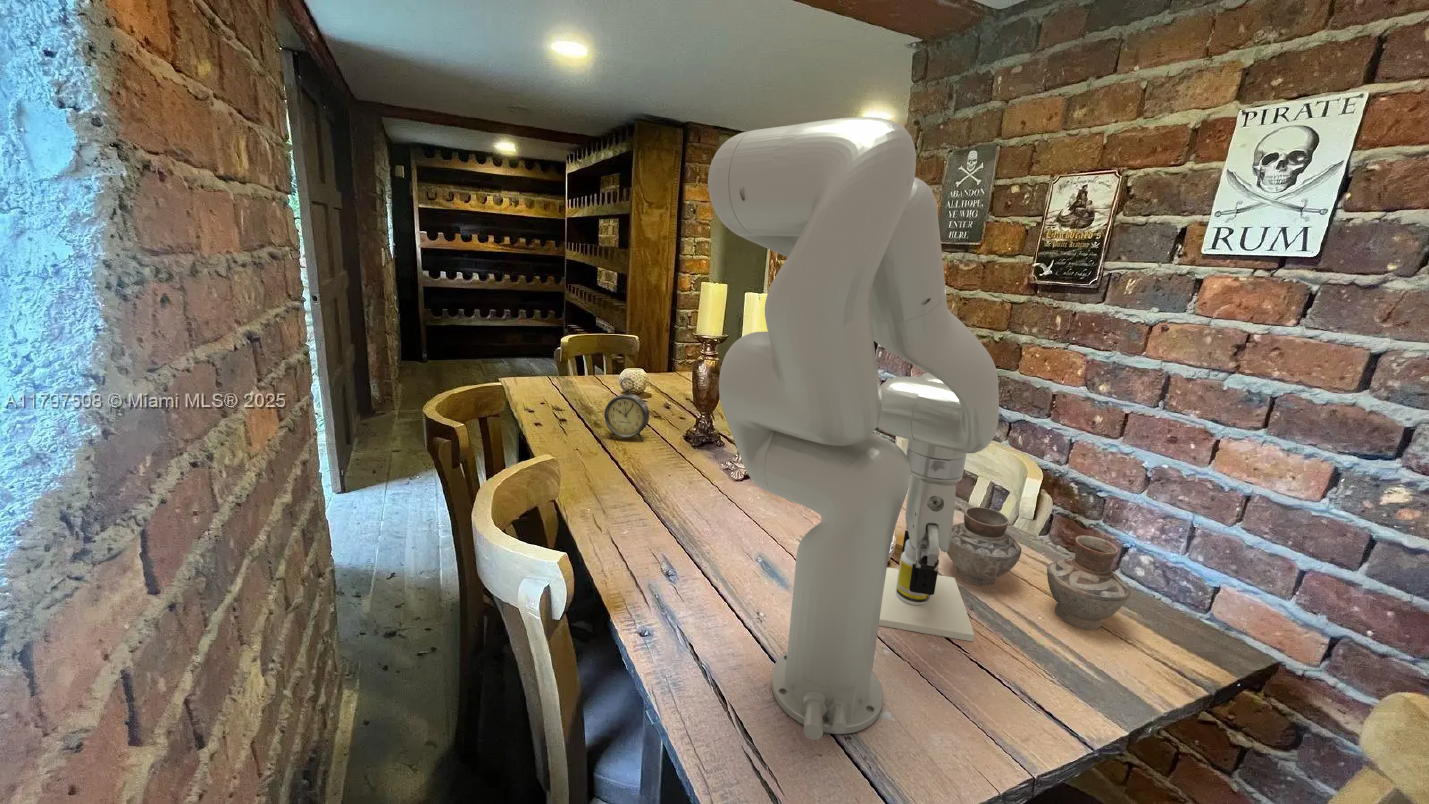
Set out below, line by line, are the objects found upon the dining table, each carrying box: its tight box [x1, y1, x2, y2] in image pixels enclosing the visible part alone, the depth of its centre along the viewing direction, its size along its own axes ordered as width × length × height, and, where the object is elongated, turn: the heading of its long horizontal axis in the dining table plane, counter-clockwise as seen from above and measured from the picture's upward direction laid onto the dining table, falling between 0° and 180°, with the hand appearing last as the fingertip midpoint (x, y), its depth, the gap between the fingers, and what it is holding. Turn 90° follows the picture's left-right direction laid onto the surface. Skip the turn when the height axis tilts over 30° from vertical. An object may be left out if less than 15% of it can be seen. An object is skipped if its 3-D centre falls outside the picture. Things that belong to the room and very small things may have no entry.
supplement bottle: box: [896, 539, 930, 605], centre depth 81 cm, size 5×5×8 cm
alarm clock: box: [603, 377, 650, 442], centre depth 144 cm, size 11×5×16 cm, turn 81°
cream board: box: [878, 566, 976, 643], centre depth 82 cm, size 14×14×1 cm
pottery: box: [946, 506, 1131, 631], centre depth 84 cm, size 11×25×12 cm, turn 47°
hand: (916, 573), depth 81 cm, fingers open, 9 cm apart
